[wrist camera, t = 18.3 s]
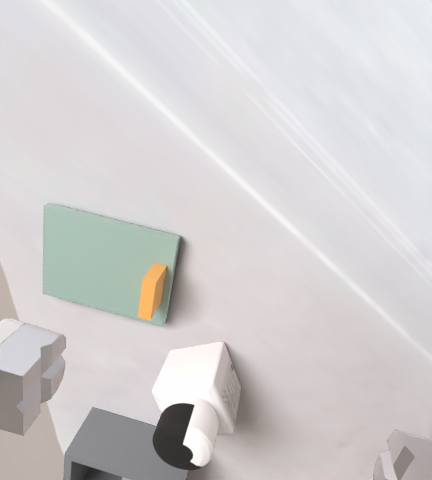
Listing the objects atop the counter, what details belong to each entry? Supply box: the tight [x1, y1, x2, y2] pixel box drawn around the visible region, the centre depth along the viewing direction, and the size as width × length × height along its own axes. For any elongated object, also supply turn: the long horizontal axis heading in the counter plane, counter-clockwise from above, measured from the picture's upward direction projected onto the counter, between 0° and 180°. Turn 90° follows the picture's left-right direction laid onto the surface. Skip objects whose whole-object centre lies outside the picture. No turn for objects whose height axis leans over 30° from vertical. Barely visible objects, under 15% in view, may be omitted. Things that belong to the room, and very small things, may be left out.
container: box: [152, 342, 241, 470], centre depth 48 cm, size 8×8×13 cm
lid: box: [43, 203, 180, 327], centre depth 47 cm, size 16×12×6 cm
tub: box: [63, 407, 189, 480], centre depth 58 cm, size 16×12×8 cm
